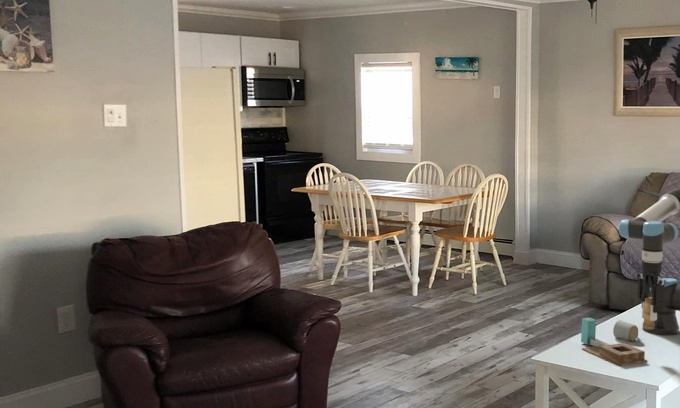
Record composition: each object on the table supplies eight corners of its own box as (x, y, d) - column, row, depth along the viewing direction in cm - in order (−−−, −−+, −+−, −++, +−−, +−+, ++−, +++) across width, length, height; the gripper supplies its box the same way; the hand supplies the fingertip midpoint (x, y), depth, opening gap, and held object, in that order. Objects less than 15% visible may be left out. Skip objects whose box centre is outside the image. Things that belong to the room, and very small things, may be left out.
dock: (609, 345, 338) (609, 336, 337) (647, 361, 318) (647, 351, 317) (581, 349, 333) (582, 340, 332) (618, 365, 313) (619, 355, 312)
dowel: (649, 326, 324) (650, 296, 323) (656, 328, 321) (657, 299, 319) (641, 327, 323) (642, 297, 321) (648, 329, 319) (649, 300, 318)
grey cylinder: (629, 343, 341) (630, 325, 340) (612, 338, 347) (613, 321, 346) (643, 339, 348) (644, 321, 347) (625, 334, 354) (626, 317, 353)
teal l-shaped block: (588, 340, 342) (589, 317, 341) (617, 352, 326) (618, 328, 325) (581, 341, 341) (581, 318, 340) (609, 354, 325) (610, 329, 323)
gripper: (629, 257, 324) (626, 314, 328) (660, 266, 309) (657, 325, 312) (644, 256, 327) (641, 312, 330) (675, 264, 312) (672, 323, 315)
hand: (649, 318), depth 321 cm, fingers closed on dowel, 4 cm apart
